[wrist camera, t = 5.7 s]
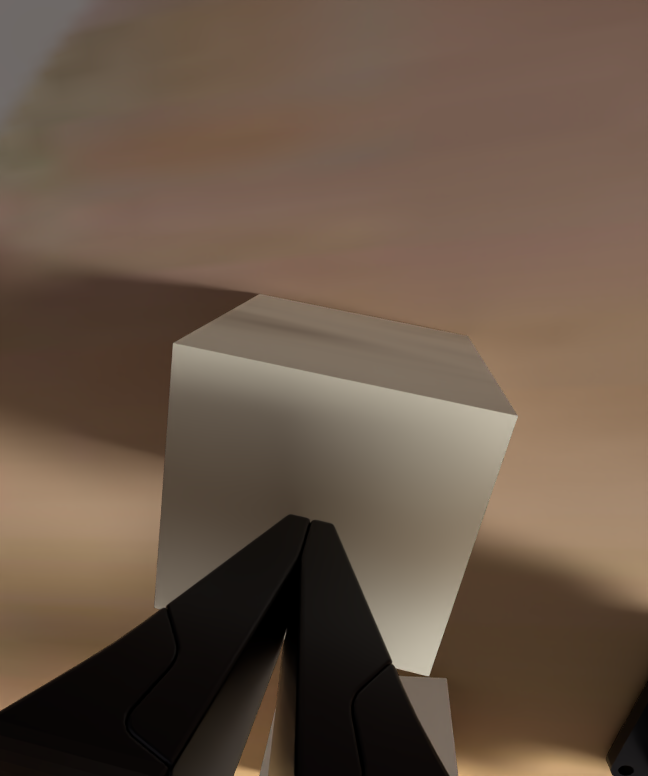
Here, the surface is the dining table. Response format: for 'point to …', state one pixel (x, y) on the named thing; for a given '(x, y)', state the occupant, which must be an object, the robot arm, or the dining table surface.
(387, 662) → the robot arm
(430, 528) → the plain ash cube
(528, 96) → the dining table surface
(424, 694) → the off-white numbered cube
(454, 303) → the dining table surface
